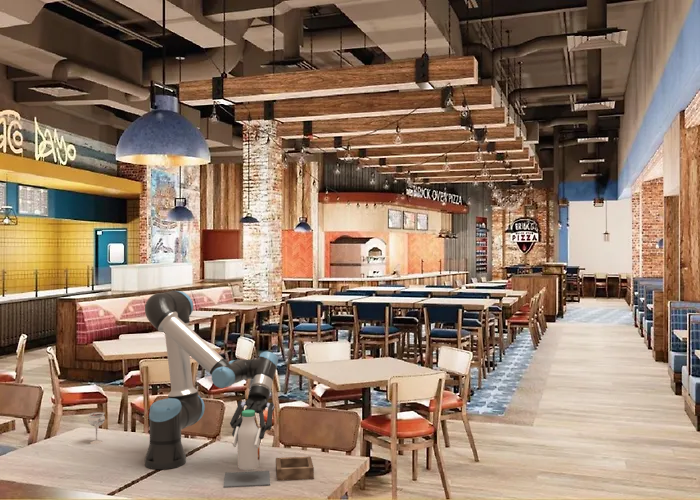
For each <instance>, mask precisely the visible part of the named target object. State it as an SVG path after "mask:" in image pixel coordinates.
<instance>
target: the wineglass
mask: <svg viewBox="0 0 700 500" xmlns="http://www.w3.org/2000/svg"><path fill="white" fill-rule="evenodd" d="M105 415H106V412H104V411H94V412H90V413H88V414H87V416H88V417H87V422H88V424H89V425H91V427H94V428H95V440H94V441H91V442H90V443H89V444H91V445H100V444H102V443H103V442H104V441H102V440H98V428H99V427H100V426H101V425H103V424H104V422H105V420H106V417H105Z"/></svg>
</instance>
